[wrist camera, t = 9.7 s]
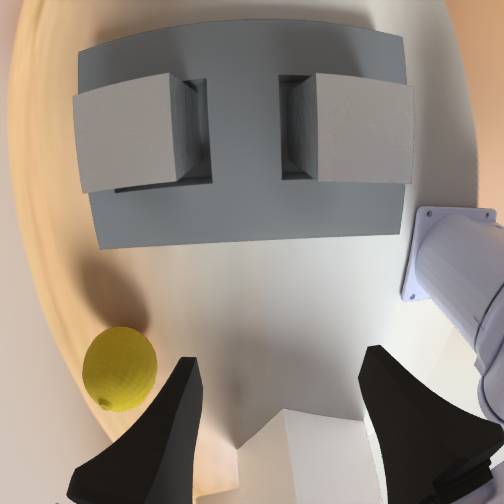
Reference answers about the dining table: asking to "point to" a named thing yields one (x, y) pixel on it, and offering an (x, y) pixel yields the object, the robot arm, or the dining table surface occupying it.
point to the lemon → (119, 369)
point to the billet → (351, 129)
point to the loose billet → (136, 133)
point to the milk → (308, 462)
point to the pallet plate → (244, 134)
